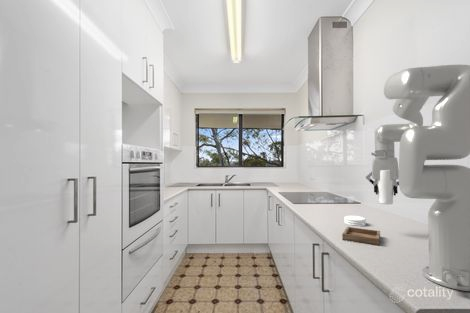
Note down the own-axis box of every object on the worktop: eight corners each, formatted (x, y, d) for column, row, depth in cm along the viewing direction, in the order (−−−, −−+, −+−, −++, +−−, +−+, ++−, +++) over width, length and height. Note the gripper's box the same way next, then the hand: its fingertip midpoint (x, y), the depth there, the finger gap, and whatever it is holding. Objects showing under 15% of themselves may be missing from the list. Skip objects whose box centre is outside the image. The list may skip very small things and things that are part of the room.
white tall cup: (397, 205, 104) (396, 170, 105) (380, 204, 106) (379, 170, 106) (391, 202, 111) (390, 170, 112) (374, 202, 112) (374, 170, 113)
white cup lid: (360, 222, 131) (360, 215, 131) (369, 227, 121) (369, 219, 121) (341, 221, 132) (341, 215, 132) (348, 226, 122) (348, 219, 122)
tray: (378, 245, 93) (378, 239, 93) (342, 239, 100) (342, 233, 100) (380, 236, 104) (380, 231, 104) (347, 232, 111) (347, 226, 111)
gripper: (362, 155, 111) (363, 194, 110) (408, 153, 101) (409, 197, 101) (363, 155, 117) (364, 192, 116) (407, 154, 108) (408, 195, 107)
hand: (385, 194), depth 108 cm, fingers closed on white tall cup, 6 cm apart
